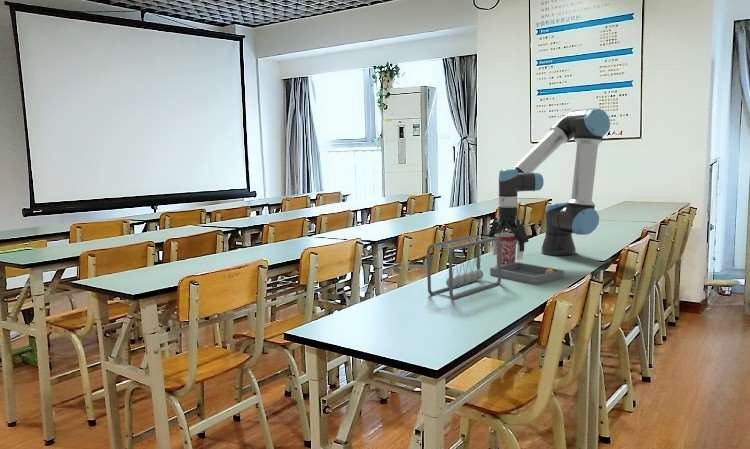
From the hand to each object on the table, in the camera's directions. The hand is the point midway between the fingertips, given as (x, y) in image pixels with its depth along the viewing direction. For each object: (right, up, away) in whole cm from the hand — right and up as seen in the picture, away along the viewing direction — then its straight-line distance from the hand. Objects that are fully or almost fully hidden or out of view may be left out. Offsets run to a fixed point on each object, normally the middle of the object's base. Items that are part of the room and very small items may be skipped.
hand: (507, 257), depth 249 cm
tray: (+2, -7, -23) cm, 24 cm away
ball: (+10, -6, -25) cm, 28 cm away
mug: (0, -4, +1) cm, 4 cm away
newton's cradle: (-23, -10, -38) cm, 45 cm away
